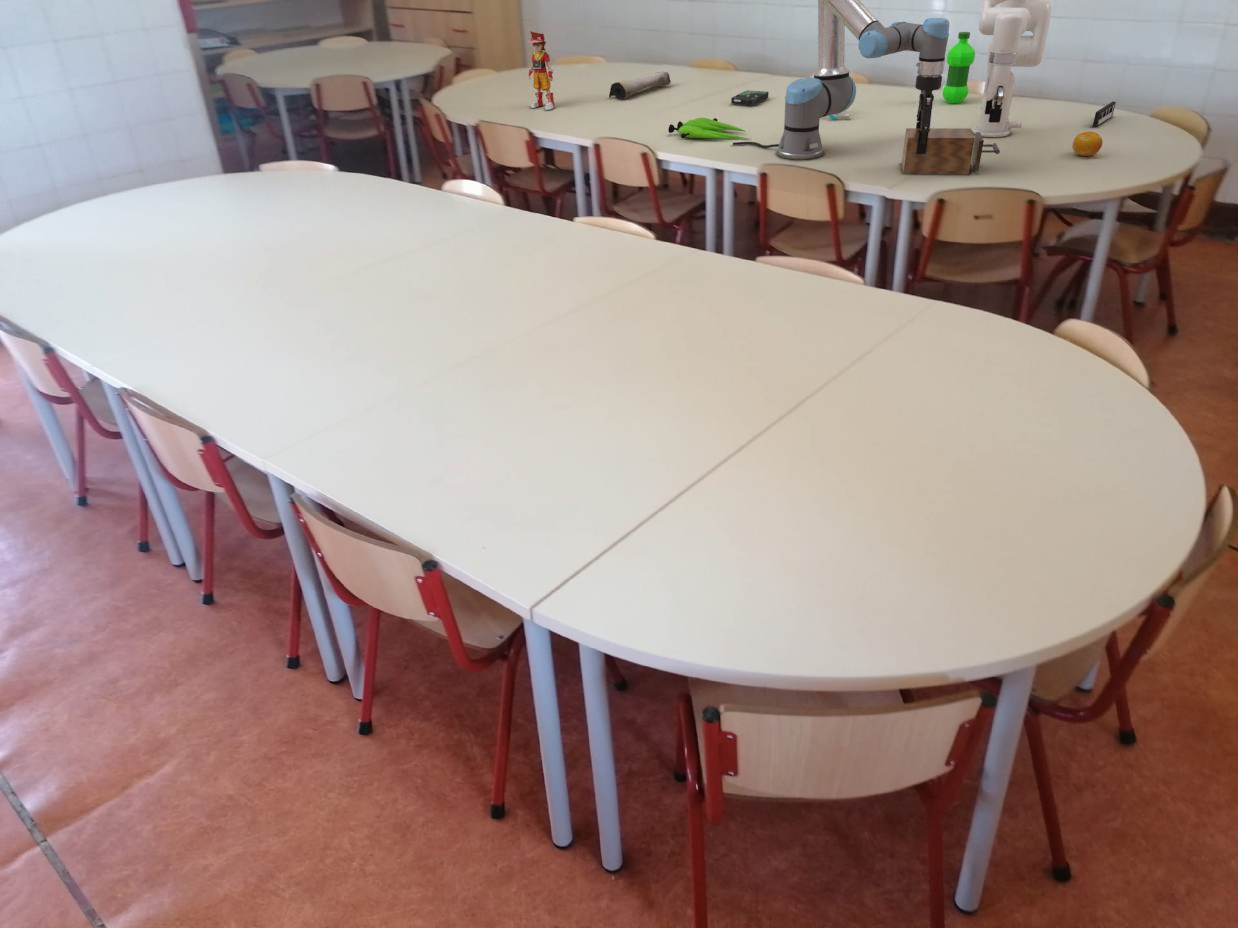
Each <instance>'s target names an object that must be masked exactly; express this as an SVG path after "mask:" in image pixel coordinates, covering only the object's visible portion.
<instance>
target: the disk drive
mask: <svg viewBox="0 0 1238 928" xmlns="http://www.w3.org/2000/svg"><path fill="white" fill-rule="evenodd" d="M769 94H770V93H769V91H763V90H762V91H761V90H749V89H748V90H744V91H742V92H740V93H738V94H735V95H734V96H732V97H731V99H730V103H731V105H736V106H737V105H738V106H750V107H753V106H756V105H759V104H760V103H762V102H764V101H766V100H767V99H768V98H769Z"/></svg>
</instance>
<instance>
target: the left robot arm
mask: <svg viewBox="0 0 1238 928" xmlns="http://www.w3.org/2000/svg"><path fill="white" fill-rule="evenodd" d="M817 9H818V10H817V25H818V26H817V33H818V34H817V35H818V36H817V38H818V39H817V41H818V42H817V44H818V45H817V48H818V49H817V50H818V52H817V53H818V55H817V56H818V58H817V60H818V65H817V67H818V68H817V70H816V71H815V72H814V73H813V77H805V78H799V79H796V80H794V81H792V82H790V83H789V84H788V85H787V86H786V90H785V96H784V101H785V102H784V124H783V133H782V135H781V138H780V141H779V143H776V144H775V143H774V144H768V145H767V144H761V143H760V142H756V141H737V142H732V146H739V145H740V146H741V145H754V146H758V147H760V148H763V149H770V148H777V155H778V156H779V157H781V158H783V159H788V160H794V161H798V160H799V161H800V160H801V161H802V160H804V161H805V160H812V159H816V158H819V157H821V156H822V155H823V153H824V152H823V150H824V147H823V142H822V137H821V134H820V119H823V118H825V117H829V115H833V114H838V113H841V112H845V111H847V110H848V109H850V108H851V106H852V105H853V103H854V102H855V99H856V96H857V85H856V82H855V81H854V79H853V77H851V76H850V69H848V68H847V67H846V66H845V65H846V64H845V63H846V61H845V59H846V58H845V57H846V54H845V53H846V48H845V46H846V29H847V30H848V31H849V32H850V33H851V34H852V35H853V36H854V37H855V38H856V39H857V41H858V50H859V53H860V55H861V56H862V57H864V58H865V59H877V58H881V57H884V56H888V55H892V54H897V53H900V52H901V53H902V52H905V51H908V52H915V53H919V55H918V62H917V63H916V64H915V66H916V68H917V72H916V73H917V74H918V75H916V77H915V89H916V90H919V91H920V93H919V97H918V98H919V99H918V106H917V113H916V125H915V128H920V130H918V133H919V138H918V145H917V153H916V154H926V148H927V140H928V133H929V132H930V128H931V122H932V121H931V120H932V111H933V104H934V103H933V102H934V100H935V96H934V93H933V91H938V90H940V89H941V87H942V82H943V76H942V75H943V74H944V69H945V63H946V54H947V53H946V52H947V46H948V40H949V37H950V33H949V32H950V20H949V19H948V18H946V17H928V18H925V20H924V21H923V23H922V24H920V23H912V22H907V21H894V22H893V23H891V25H889V26H888V27H887V26H886V27H885V26H884V25H883V24H882V22H880V21H879V20H878V19H877V18H876V16H875V15H873V13H872V12H871V11H870V10H869V9H868V8H867V7H866V6H865V5H864V3H862V1H860V0H817Z"/></svg>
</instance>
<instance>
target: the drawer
mask: <svg viewBox="0 0 1238 928" xmlns="http://www.w3.org/2000/svg"><path fill="white" fill-rule="evenodd" d="M974 137H975V139H974V145H973V151H972V157H971V163H970V164H971V165H972V168H973V170H974V172H978V171H979V170H980V166H981V165H980V164H981V160H982V153H983V154H984V153H985V154H986V153H988V154H992V153H993V154H995V155H999V154H1000V153H1001V150H1000V149H999V148H1000V147H999V146H998V144H997V143H996V142H993V143H992V144H989V143H988V144H987V143H985V140H984V137H983V136H981V133H980V132H976V134H974ZM984 143H985V144H984ZM984 148H992V149H984Z"/></svg>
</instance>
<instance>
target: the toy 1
mask: <svg viewBox="0 0 1238 928" xmlns="http://www.w3.org/2000/svg"><path fill="white" fill-rule="evenodd" d="M529 33H530V35H531V36H528V37H527V38H528V39H529V40H528V41H527V43H529V44H530V43H531V44H532V48H533V50H534V51H533V52H532V55H531V58H530V59H531V63H530V66H528V74H527V75H528V76H527V77H528V79H529V80H531V75H532V74H533V84H532V85H533V86H532V87H533V88H534V89H535V90H536V92H534V95H535V97H536V100H535V101H533V102H531V105H530V108H531V109H535V108H538V107H542V106H544V101H543V100H544V99H543V95H544V92H546V94H545V97H546V99H547V103H546V104H545V106H544V110H546V111H549V110H553V109H554V107H555V106H556V105H555V99H554V92H551V91H550V90H551V86H552V84H551V82H552V81H553V80H554V77H553V73H554V71H555V70H554V69H552V68H551V63H550V61H551V59H550V58H551V57H550V54H549V53H548V52H547V50H546V48H545V46H546V44H547V41H545V35H544V33H543V32H542V33H539V32H535V31H529Z"/></svg>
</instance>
